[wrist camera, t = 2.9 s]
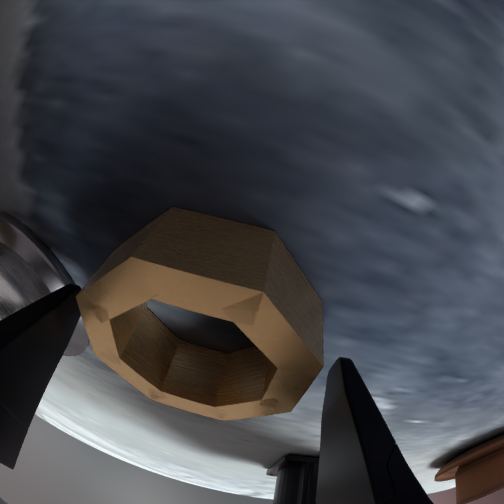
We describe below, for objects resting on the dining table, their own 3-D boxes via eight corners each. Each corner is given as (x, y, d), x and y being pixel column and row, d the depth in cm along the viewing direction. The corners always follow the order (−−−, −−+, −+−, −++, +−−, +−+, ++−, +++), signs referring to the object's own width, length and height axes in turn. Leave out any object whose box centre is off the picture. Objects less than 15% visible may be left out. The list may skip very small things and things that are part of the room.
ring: (281, 380, 12) (275, 430, 10) (128, 338, 12) (105, 381, 10) (345, 249, 8) (357, 313, 6) (112, 193, 8) (61, 235, 6)
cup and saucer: (527, 431, 17) (535, 471, 12) (446, 470, 23) (449, 510, 18) (528, 409, 14) (541, 464, 8) (419, 462, 19) (422, 515, 14)
